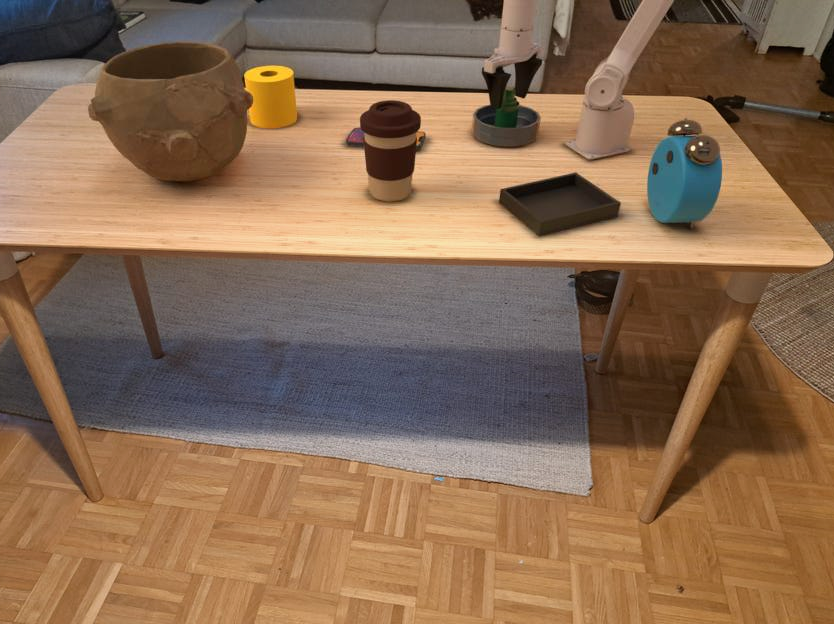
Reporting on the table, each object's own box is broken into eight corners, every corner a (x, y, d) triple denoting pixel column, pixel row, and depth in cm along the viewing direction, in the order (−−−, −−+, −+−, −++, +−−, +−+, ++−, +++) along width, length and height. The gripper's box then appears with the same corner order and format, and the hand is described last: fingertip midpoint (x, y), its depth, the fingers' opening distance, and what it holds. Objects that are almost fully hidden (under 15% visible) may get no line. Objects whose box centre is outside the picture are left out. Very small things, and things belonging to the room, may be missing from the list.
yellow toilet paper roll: (243, 126, 143) (236, 80, 136) (259, 108, 150) (254, 64, 144) (288, 130, 141) (284, 83, 135) (303, 112, 148) (299, 67, 142)
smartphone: (354, 131, 140) (354, 126, 139) (426, 136, 136) (426, 131, 136) (344, 146, 134) (344, 141, 133) (419, 152, 131) (419, 146, 130)
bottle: (508, 127, 139) (513, 83, 133) (519, 134, 136) (525, 90, 130) (489, 130, 137) (494, 86, 132) (500, 138, 134) (505, 93, 129)
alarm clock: (705, 238, 106) (737, 145, 96) (665, 239, 106) (694, 147, 96) (674, 198, 116) (700, 110, 106) (638, 199, 116) (661, 111, 106)
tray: (573, 185, 120) (575, 172, 118) (617, 216, 111) (621, 202, 110) (498, 202, 116) (500, 188, 114) (538, 236, 107) (541, 222, 106)
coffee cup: (424, 203, 116) (427, 116, 106) (366, 209, 115) (364, 121, 105) (411, 177, 123) (413, 94, 113) (357, 182, 122) (355, 98, 112)
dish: (514, 118, 143) (517, 99, 141) (550, 141, 134) (553, 121, 131) (460, 129, 140) (461, 109, 137) (492, 153, 130) (495, 133, 128)
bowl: (80, 175, 127) (44, 63, 113) (204, 128, 142) (186, 25, 129) (164, 223, 112) (135, 102, 99) (292, 165, 128) (281, 54, 115)
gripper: (524, 15, 129) (514, 87, 138) (474, 30, 122) (467, 106, 131) (554, 22, 125) (543, 96, 134) (505, 39, 118) (496, 116, 127)
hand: (508, 102), depth 132 cm, fingers open, 7 cm apart
